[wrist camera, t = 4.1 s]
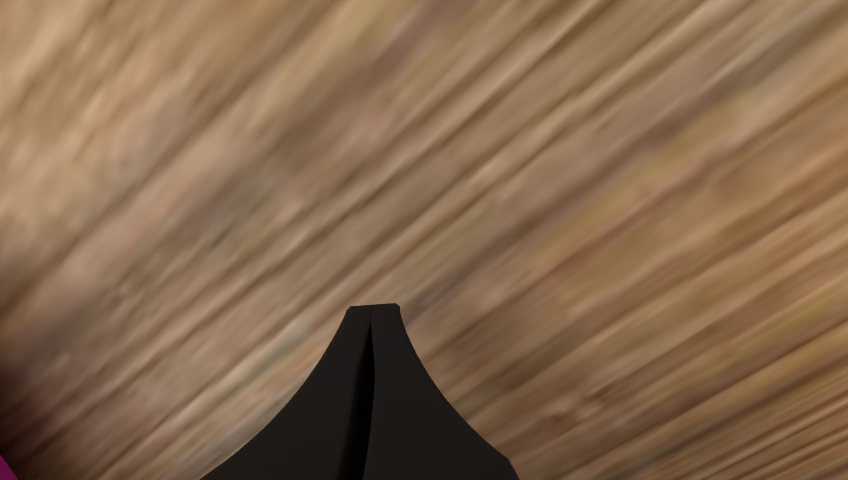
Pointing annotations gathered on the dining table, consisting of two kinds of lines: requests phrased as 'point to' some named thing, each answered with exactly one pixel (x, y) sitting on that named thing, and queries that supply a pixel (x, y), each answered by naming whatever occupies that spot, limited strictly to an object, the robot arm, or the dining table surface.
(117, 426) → the dining table surface
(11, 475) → the supplement can
